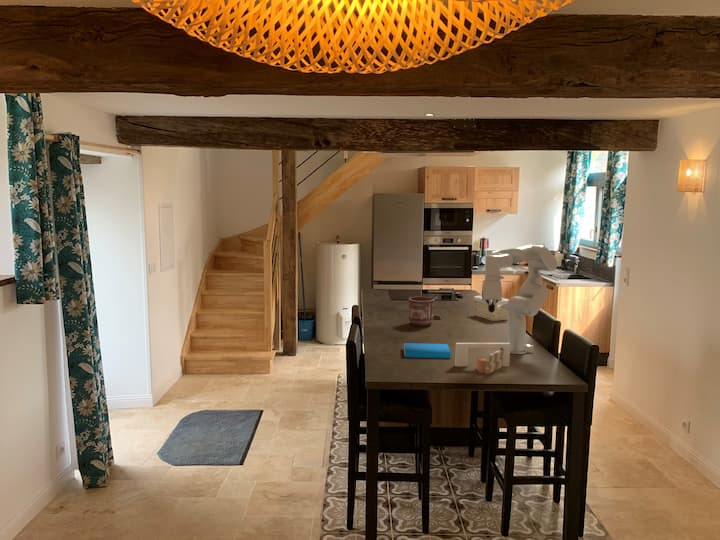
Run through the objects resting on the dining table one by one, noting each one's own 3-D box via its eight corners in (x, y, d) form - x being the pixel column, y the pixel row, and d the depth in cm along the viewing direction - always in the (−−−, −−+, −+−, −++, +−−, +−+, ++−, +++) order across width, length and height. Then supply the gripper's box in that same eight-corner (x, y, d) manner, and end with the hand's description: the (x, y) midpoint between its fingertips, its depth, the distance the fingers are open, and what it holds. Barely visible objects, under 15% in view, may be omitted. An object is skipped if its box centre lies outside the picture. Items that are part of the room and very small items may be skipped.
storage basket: (472, 315, 424) (472, 295, 422) (490, 313, 431) (491, 294, 429) (492, 322, 403) (492, 301, 401) (510, 320, 409) (511, 299, 407)
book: (403, 343, 331) (447, 343, 330) (403, 350, 332) (447, 350, 331) (404, 351, 314) (451, 351, 313) (404, 359, 315) (451, 359, 314)
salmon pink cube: (486, 368, 296) (486, 357, 296) (489, 372, 290) (489, 360, 290) (476, 368, 296) (476, 357, 295) (479, 372, 290) (479, 360, 290)
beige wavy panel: (500, 366, 301) (501, 348, 299) (503, 366, 300) (503, 348, 298) (485, 374, 287) (485, 355, 286) (488, 374, 286) (488, 356, 285)
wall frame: (508, 365, 303) (509, 342, 301) (509, 366, 301) (510, 343, 299) (455, 365, 302) (455, 342, 300) (455, 366, 300) (456, 343, 298)
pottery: (435, 328, 383) (436, 301, 381) (408, 327, 384) (409, 300, 381) (432, 322, 401) (433, 296, 399) (407, 321, 401) (407, 296, 399)
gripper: (503, 276, 312) (502, 310, 315) (476, 277, 311) (475, 310, 313) (508, 279, 304) (507, 313, 307) (480, 279, 303) (479, 313, 306)
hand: (491, 311), depth 310 cm, fingers closed
